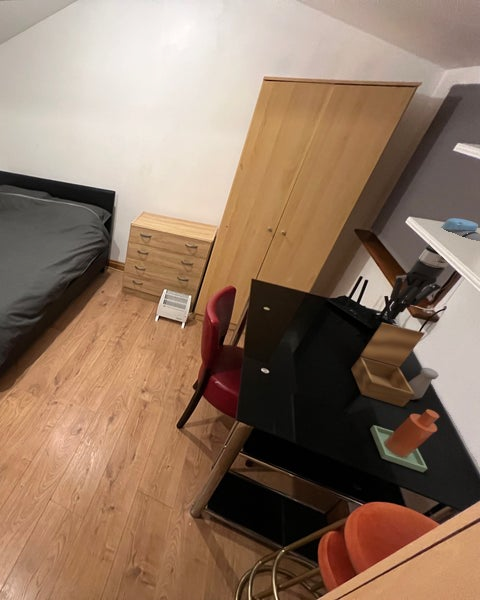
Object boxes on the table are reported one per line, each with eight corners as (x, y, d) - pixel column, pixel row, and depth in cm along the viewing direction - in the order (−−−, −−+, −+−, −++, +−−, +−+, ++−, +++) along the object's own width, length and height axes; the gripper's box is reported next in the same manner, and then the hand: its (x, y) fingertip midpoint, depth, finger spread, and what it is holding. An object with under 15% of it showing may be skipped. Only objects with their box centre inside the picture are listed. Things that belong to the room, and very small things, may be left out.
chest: (402, 407, 115) (415, 394, 111) (361, 394, 118) (372, 382, 115) (388, 379, 126) (398, 367, 122) (350, 368, 130) (360, 356, 126)
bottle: (411, 460, 97) (451, 426, 87) (387, 452, 98) (424, 417, 89) (403, 444, 101) (440, 409, 92) (381, 436, 103) (415, 401, 94)
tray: (423, 472, 94) (427, 468, 93) (381, 458, 97) (385, 454, 96) (407, 441, 103) (411, 437, 102) (370, 428, 106) (373, 424, 105)
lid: (425, 333, 114) (423, 332, 115) (382, 323, 118) (382, 322, 119) (400, 366, 122) (399, 365, 123) (361, 356, 126) (360, 355, 126)
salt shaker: (401, 387, 123) (424, 362, 116) (420, 397, 119) (445, 373, 112) (396, 393, 120) (418, 368, 113) (415, 404, 116) (439, 379, 109)
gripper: (413, 263, 111) (373, 317, 124) (460, 272, 107) (415, 327, 120) (404, 255, 117) (367, 307, 130) (449, 263, 113) (407, 317, 126)
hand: (390, 317), depth 125 cm, fingers closed
